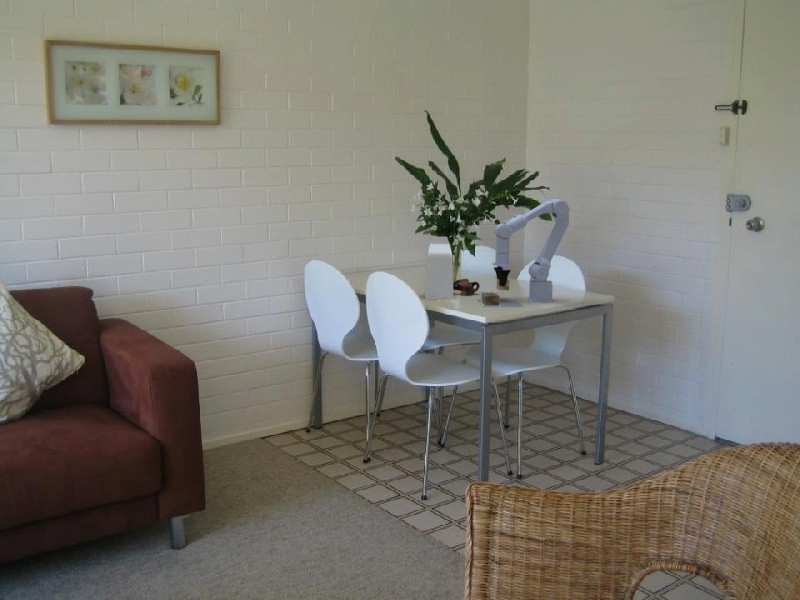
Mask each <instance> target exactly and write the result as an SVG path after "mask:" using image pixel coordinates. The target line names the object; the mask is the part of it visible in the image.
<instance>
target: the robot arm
mask: <svg viewBox="0 0 800 600" xmlns="http://www.w3.org/2000/svg"><path fill="white" fill-rule="evenodd" d="M570 209H571V208H570V206H569V205H568V202H567V201H566V200H565V199H560V198H556V197H554V198H551V199H549V200H546V201H544V202H542V203H541V204H539V205H537V206H536V207H534V208H533V209H530V211H528V212H526V213H524V214H514V215H513V217H512V218H509V219H508V220H504V221H503V223H499V224H497V225H496V227H495V228H494V230H493V231H494V234H495V236H496V237H495V262H492V265H493V266H494V267H493V270H494V271H495V275H496V280H497V279H499V282H500V286H505V285H506V282H507V279H508V277H509V275H510V272H511V269H509V266H510V264H511V263H510V246H511V245H510V244H511V243H510V237H511V236H512V235H513V234H514V233H516V232H518V231H520V230H522V229H524V228H525V227H526V226H527V224H528V222H530V221H532V220H533V219H535V218H537V217H540V216H541V215H544V214H551V216H552V217H553V219H554V222H555V224H554V225H553V228H552V229H551V232H550V234H549V236H548V238H547V240H546V242H545V244H544V246H543V248H542V250H541V252H540V254H539V256H538V257H537V258H535V260H534V262H533V263H532V264H531V265H530V266H529V268H528V273H529V276H530V278H529V289H528V291H529V292H528V297H527V298H526V300H527V301H529V302H530V303H553V282H552V280H548V278H549V275H550V269H551V265H552V264H551V261H552V259H553V257H554V255H555V254H556V251H557V249H558V247H559V245H560V244H561V241H562V239H563V237H564V235H565V232H566V231H567V230H568V229H567V228H569V224H570Z"/></svg>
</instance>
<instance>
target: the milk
mask: <svg viewBox="0 0 800 600" xmlns="http://www.w3.org/2000/svg"><path fill="white" fill-rule="evenodd" d="M425 265H426V267H425V282H424V284H425V285H424V300H439V299H451V300H452V299H454V289H453V283H454V273H453V272H454V271H453V253H452V248H451V244H450V241H449V239H448V236H433V237H432V238H431V241H430V243H429V246H428V248H427V253H426V264H425Z"/></svg>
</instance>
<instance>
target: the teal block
mask: <svg viewBox="0 0 800 600" xmlns="http://www.w3.org/2000/svg"><path fill="white" fill-rule="evenodd" d="M482 293H495V292H494V291H493V290H481V298H480V299H481V300H482Z"/></svg>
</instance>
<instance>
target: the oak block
mask: <svg viewBox="0 0 800 600" xmlns="http://www.w3.org/2000/svg"><path fill="white" fill-rule="evenodd" d="M496 289H497V290H498V291H510V280H509V279H508V278H507V282H506V285H505V286H500V282H499V279H497V278H496Z"/></svg>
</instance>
